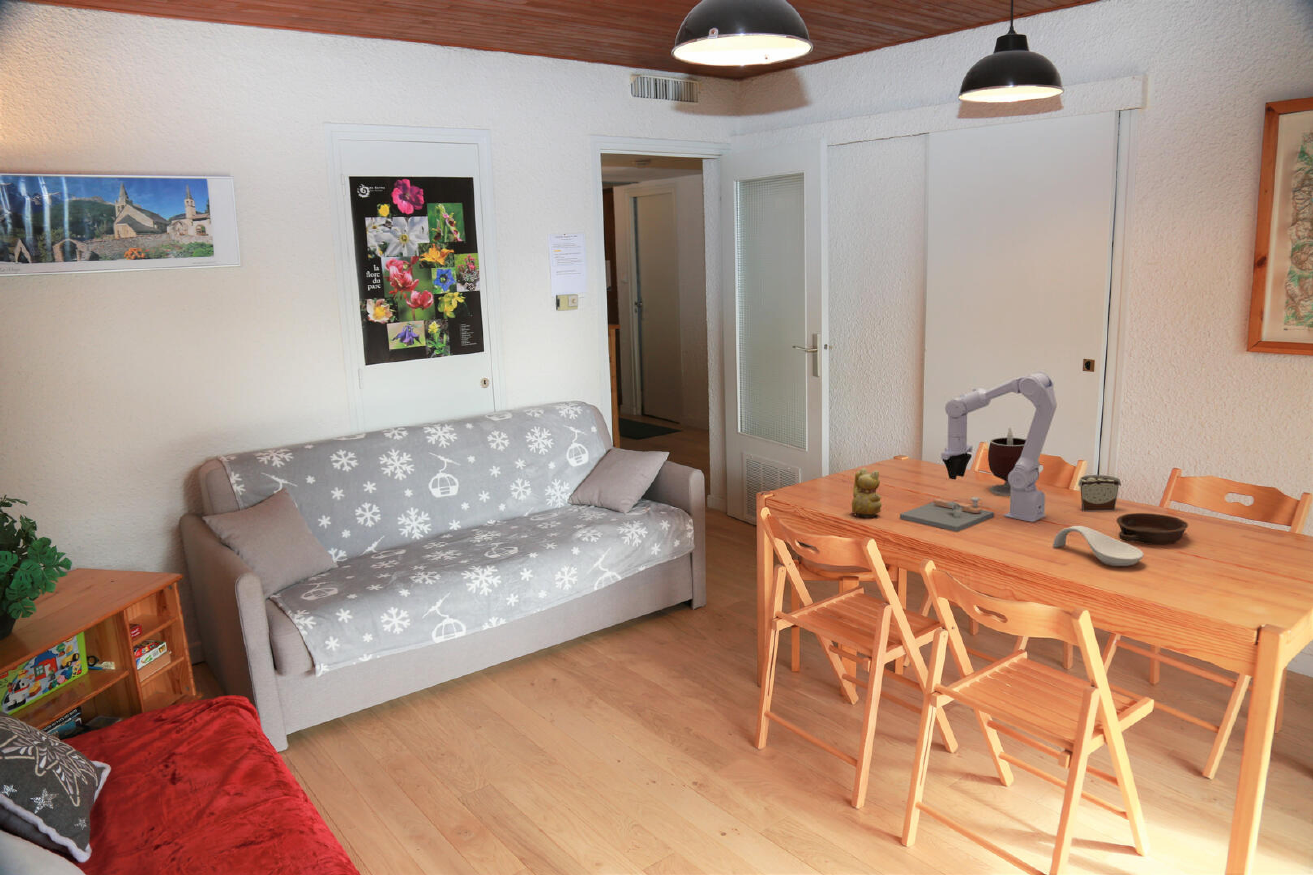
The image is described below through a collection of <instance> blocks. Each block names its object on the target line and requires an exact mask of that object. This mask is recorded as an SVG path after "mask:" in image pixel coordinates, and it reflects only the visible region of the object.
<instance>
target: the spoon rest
mask: <svg viewBox="0 0 1313 875" xmlns="http://www.w3.org/2000/svg"><path fill="white" fill-rule="evenodd" d="M1072 532H1076V533H1079V534H1081V535H1082V536H1083V537H1084V539H1085V541H1087V542H1086V543H1087V544H1088V545H1089V547H1090V549H1091V551H1092V552H1093V554H1094V555H1095V557H1097V559H1098V560H1100V562H1102V563H1103V564H1105V565H1107V564H1108V565H1107V566H1110V565H1113V566H1112V567H1118V566H1123V567H1129V566H1132V565H1135V564H1137V563H1139V561H1141V560H1142V559H1143V557H1144V555H1145V554H1144V552H1143V550H1141V549H1140V548H1138V547H1136V546H1134V545H1131V544H1129V543H1127V542H1124V541H1122V540H1118V539H1116V538H1113V537H1111V536H1109V535H1107V534H1105V533H1102V532H1100V531H1097V530H1095V529H1092V528H1090V527H1087V526H1084V525H1073V526H1070V527H1069V526H1068V527H1065V528H1063V529H1061V530H1060V531H1058V532H1057V533H1056V535H1055V536H1054V539H1053V542H1052V547H1053V548H1060V547H1062V546H1065V545H1066V542H1067V537H1068V535H1069V533H1072Z"/></svg>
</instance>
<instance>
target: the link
mask: <svg viewBox="0 0 1313 875" xmlns="http://www.w3.org/2000/svg"><path fill="white" fill-rule="evenodd" d="M970 500H971V501H972V504H970V503H966V502H962V501H961V502H960V501H955V500H950V499H945V498H940V497H939V498H936V499H933V502H934V505H938V506H943V507H947V508H951V507H950V506H948V505H947V502H955V503H957V504H959V505H961V506H962V511H967V512H970V513H981V510H982V506H980V505H978V503H979V501H980V497H977V496H972V497H971V498H970ZM952 509H953V508H952Z"/></svg>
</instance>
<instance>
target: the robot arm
mask: <svg viewBox="0 0 1313 875" xmlns="http://www.w3.org/2000/svg"><path fill="white" fill-rule="evenodd" d="M1054 387H1055V383H1054V382H1053V380H1052V379H1051V378H1050V376H1049V375H1048V374H1047V373H1046V372H1044V371H1037V372H1035V373H1033V374H1026V375H1023V376H1019V377H1014V378H1012V379H1010V380H1007V381H1005V382H1003V383H1000V384H999V385H996V386H994V387H992V388H988V389H985V388H981V387H980V388H978V387H975V388H973V389H971V390H972V391H970V392H969V393H965V394H964V393H962V394H959V397H956V398H952V399H951V400H949V401H947V403H946V404H945V407H944V409H945V413H946V415H947V447H945V448H944V451H943V452H941V455H940V457H941V458H940V460H942V462H943V463H944V465H945V468H946V471H947V474H948V479H949V480H957V478H958V477H963V478H964V477H965V473H966V469H967V466H968V463H969V462H970V460H971V459H972V452H973V445H969V444H967V443H968V442H967V441H968V437H967V436H968V414H969V413H972V412H974V411H977V410H979V409H980V410H981V409H982V408H985V407H987V406H989V404H990V403H991V400H993V399H996V398H998V397H1001V396H1004V395H1007V394H1009V393H1015V394H1021V395H1022V396H1024V397H1025V398H1026V399H1027V400H1028V401H1030V402H1031V403H1032V404H1033V406H1034V407H1035V412H1034V415H1033V418H1032V422H1031V424H1030V427H1029V430H1028V433H1027V436H1026V438H1025V439H1026V442H1025V445H1024V448H1023V451H1022V454H1021V457H1020V458H1019V460H1018V461H1017V463H1016V464H1015V467H1014V469H1013V470H1012V471H1011V472H1010V473H1009V475H1008V482H1009V484H1010V486H1011V492H1010V496H1009V497H1010V498H1009V512H1008V513H1007V512H1006V513H1004V514H1003V516H1004V517H1006V518H1011V519H1014V520H1015V519H1016V520H1022V521H1026V522H1033V523H1034V522H1036V521H1038V520H1041V519H1043V518H1045V517H1046V514H1045V508H1046V507H1045V506H1046V496H1045V493H1044V492H1043V491H1041V490H1038V489H1037V485H1036V482H1038V480H1039V479H1040V470H1039V468H1040V465H1041V464H1040V461H1039V459H1040V457H1041V454H1042V451H1043V448H1044V445H1045V442H1046V439H1047V437H1048V432H1049V430H1050V427H1051V423H1052V421H1053V418H1054V415H1055V412H1056V410H1057V404H1058V403H1057V399H1056V396H1055V390H1054Z"/></svg>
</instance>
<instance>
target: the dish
mask: <svg viewBox="0 0 1313 875" xmlns="http://www.w3.org/2000/svg"><path fill="white" fill-rule="evenodd" d="M1116 523H1117V524H1118V526H1119V529H1120V531H1119V534H1118V537H1119V539H1120V541H1123V542H1124V541H1125V542H1137V543H1140V544H1147V545H1169V544H1174V543H1177V542H1178V541H1180V540H1182V537H1183V536H1184V533H1185V531H1186V529H1187V528H1188V527H1189V524H1188V522H1186V521H1185V520H1183V519H1180V518H1179V517H1177V516H1176V517H1175V516H1170V515H1166V514H1157V513H1147V512H1145V513H1143V512H1135V513H1134V512H1133V513H1126V514H1122V515H1119V516H1118V517H1117V518H1116Z"/></svg>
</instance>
